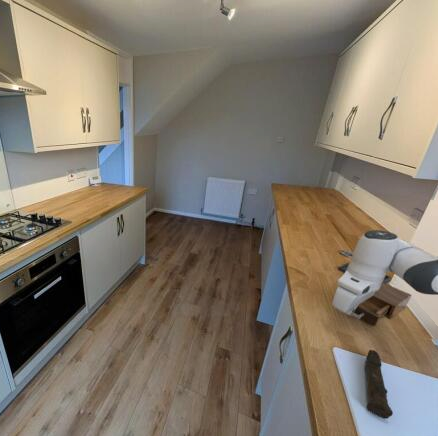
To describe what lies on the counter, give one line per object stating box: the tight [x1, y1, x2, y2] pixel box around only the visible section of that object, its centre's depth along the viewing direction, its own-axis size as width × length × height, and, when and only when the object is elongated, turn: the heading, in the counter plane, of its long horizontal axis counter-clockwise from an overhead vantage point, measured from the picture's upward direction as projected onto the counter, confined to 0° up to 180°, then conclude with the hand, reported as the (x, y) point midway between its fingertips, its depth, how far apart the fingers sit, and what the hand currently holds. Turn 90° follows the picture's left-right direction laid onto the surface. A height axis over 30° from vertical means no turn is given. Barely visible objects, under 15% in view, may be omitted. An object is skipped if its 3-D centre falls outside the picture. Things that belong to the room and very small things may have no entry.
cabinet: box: [372, 282, 412, 320], centre depth 91 cm, size 14×14×6 cm
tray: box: [337, 261, 392, 284], centre depth 109 cm, size 15×12×2 cm
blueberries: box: [340, 249, 353, 259], centre depth 126 cm, size 7×8×2 cm
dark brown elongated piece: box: [364, 349, 394, 419], centre depth 61 cm, size 19×4×5 cm, turn 141°
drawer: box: [349, 297, 391, 327], centre depth 85 cm, size 17×12×4 cm
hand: (348, 312), depth 81 cm, fingers closed
